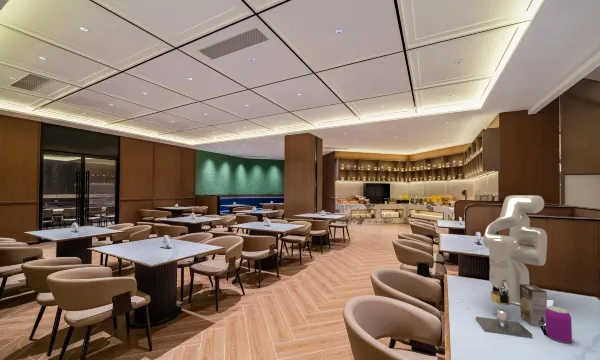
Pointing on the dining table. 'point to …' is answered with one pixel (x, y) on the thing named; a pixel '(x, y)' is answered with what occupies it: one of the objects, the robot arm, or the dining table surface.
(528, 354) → the dining table surface
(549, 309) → the beverage can
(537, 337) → the dining table surface
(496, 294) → the brass ring
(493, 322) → the stand
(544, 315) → the coffee box
